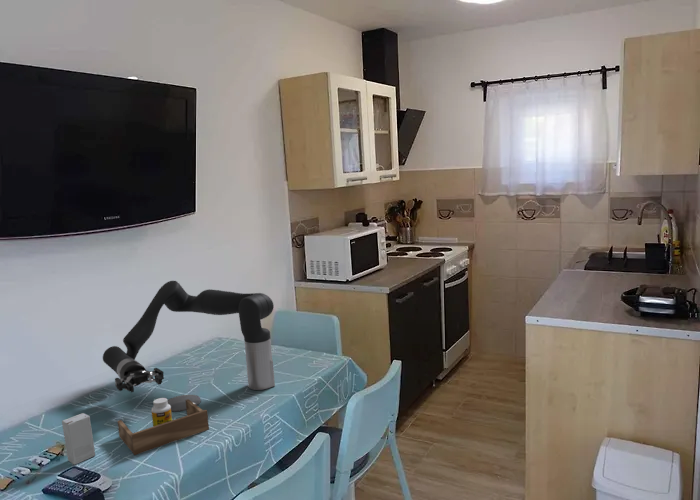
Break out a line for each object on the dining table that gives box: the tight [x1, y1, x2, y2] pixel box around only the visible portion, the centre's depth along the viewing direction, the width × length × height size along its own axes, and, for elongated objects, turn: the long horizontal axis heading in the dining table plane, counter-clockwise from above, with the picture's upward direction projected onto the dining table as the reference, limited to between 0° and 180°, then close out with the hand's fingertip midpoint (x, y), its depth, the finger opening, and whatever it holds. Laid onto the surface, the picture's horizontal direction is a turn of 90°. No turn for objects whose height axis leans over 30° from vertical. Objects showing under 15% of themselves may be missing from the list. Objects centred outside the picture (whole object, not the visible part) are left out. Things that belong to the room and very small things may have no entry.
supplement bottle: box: [151, 397, 173, 427], centre depth 167 cm, size 6×6×10 cm
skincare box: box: [61, 412, 96, 465], centre depth 154 cm, size 6×4×12 cm
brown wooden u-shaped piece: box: [116, 399, 210, 456], centre depth 167 cm, size 15×22×6 cm
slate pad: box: [167, 394, 201, 413], centre depth 188 cm, size 12×12×1 cm
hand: (146, 385), depth 175 cm, fingers open, 8 cm apart
